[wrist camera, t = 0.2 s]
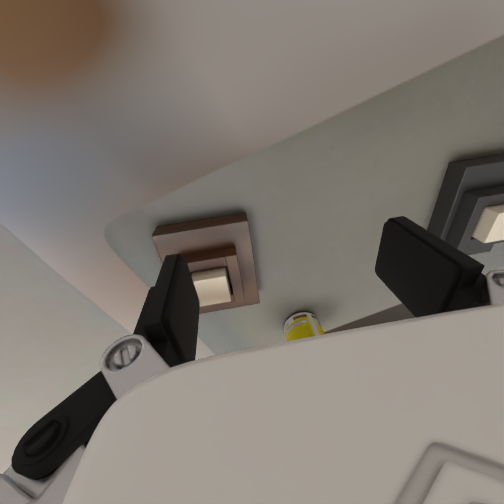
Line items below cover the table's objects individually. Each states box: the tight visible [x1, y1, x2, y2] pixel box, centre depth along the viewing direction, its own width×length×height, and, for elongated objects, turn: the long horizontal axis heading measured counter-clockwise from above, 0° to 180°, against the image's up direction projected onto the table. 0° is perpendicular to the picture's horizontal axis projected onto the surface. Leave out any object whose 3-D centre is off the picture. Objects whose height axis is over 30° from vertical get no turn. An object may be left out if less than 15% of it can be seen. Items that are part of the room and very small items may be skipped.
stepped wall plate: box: [428, 154, 504, 255], centre depth 28 cm, size 12×8×4 cm, turn 7°
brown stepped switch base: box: [152, 213, 260, 314], centre depth 28 cm, size 12×10×4 cm
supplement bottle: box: [284, 312, 325, 341], centre depth 33 cm, size 6×6×10 cm
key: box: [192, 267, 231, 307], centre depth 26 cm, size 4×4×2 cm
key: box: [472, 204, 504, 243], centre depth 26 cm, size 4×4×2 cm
